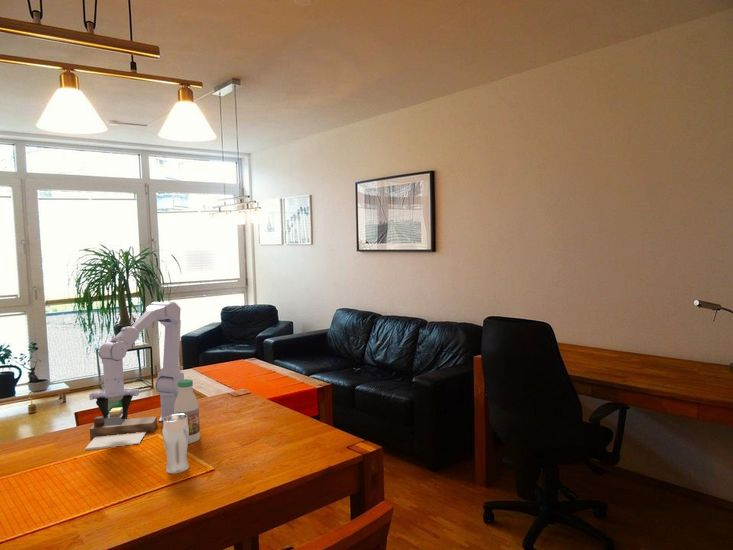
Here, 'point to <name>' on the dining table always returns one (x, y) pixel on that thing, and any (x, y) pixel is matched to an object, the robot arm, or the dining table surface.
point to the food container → (114, 403)
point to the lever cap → (114, 417)
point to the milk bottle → (188, 408)
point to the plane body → (122, 426)
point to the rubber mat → (115, 440)
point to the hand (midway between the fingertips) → (115, 418)
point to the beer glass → (176, 442)
